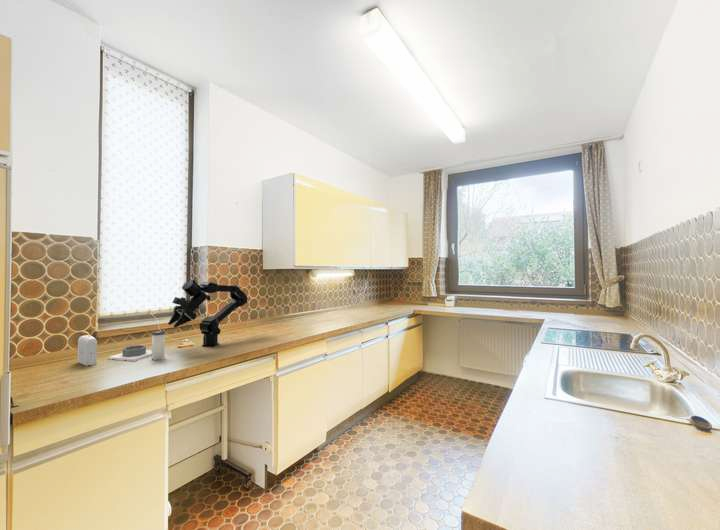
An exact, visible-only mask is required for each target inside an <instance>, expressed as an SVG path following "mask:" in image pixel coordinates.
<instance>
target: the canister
mask: <svg viewBox="0 0 720 530" xmlns="http://www.w3.org/2000/svg"><path fill="white" fill-rule="evenodd" d="M165 333H166V331H165V330H155V331H154V330H153V331H152V332H151V350H152V355H151V360H152V359H153V360H152V361H158V360H157V359H161V360H163V359H162V358H164V359H165V340H166V339H165V337H166V334H165Z"/></svg>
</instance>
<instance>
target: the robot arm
mask: <svg viewBox="0 0 720 530" xmlns="http://www.w3.org/2000/svg"><path fill="white" fill-rule="evenodd" d="M181 289H182V290H183V291H184V292H185V294H187V295H188V296H189V297H191V298H188V299H187V298H185V297H183V296H182V297H176V296H174V299H173V301H172V302H171V303H172V304H175V306H174V307H173V309H172V311H173V314H172V316H171V317H170V320H169V321H168V323H167V324H168V325H169V326H171V325H173V324H174V323H175V324H174V325H173V327H174V328H178V327H179V326H183V325H185V324H186V323H189V322H191V321H195V320H196V319H197V313H195V312H196V310H197V309H200V306H201V305H202V304H203V303H205V301H209V302H210V301H211V296H210V294H215V293H219V292H224V293H225V292H226V293H229V294H230V302H229V303H227V304H226V305H225V306H224V307H223V308H222V309H220V310H219V311H218V312H216V313H215V314H214V315H213V316H206V317H205V318H204V319H201V321H200V323H199V330H200V332H201V334H202V335H203V337H202V338H203V339H202V341H203V342H202V345H201V347H208V346H211V347H210V348H213V347H216V346H217V345H220V342H218V340H219V339H218V338H219V337H218V336H219V335H220V334H221V329H220V328H219V325H220V322H221V321H223V320H225V318H227V317H228V316H229V315H230V314H231V313H232V312H233V311H235V310H236V309H237V308H239V307H243V306H244V305H246V304H247V303H248V296H247V295H246V293H245V292H244V291H243V290H242V289H240V287H239V286H238V285H232V284H231V285H227V284H226V285H223V284H218V283H214V282H208V281H207V282H205V281H203V282H201V283H200V284H198V283H197V282H196V280H195V279H190V280H189V281H187V282H185V283H184V284H183V285H182V286H181ZM208 294H209V295H208ZM221 323H222V322H221ZM215 345H216V346H215ZM212 346H213V347H212Z"/></svg>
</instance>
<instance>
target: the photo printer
mask: <svg viewBox="0 0 720 530" xmlns="http://www.w3.org/2000/svg"><path fill="white" fill-rule="evenodd" d="M97 358H98V341H97V339H96V338H95V337H94V336H92V335H91V334H89V335H88V334H86V335H85V334H84V335H81V336H80V337H78V340H77V363H79V364H80V365H84V366H88V365H91V366H95V365H96V364H97V362H98V361H97ZM94 364H95V365H94ZM88 367H89V366H88Z"/></svg>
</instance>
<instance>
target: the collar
mask: <svg viewBox="0 0 720 530" xmlns="http://www.w3.org/2000/svg"><path fill="white" fill-rule="evenodd" d="M150 355H151V356H152V349H147V345H144V344H137V345H129V346H126V347H123V348H122V352H121V353H117V354H114V355H110V356H108V357H107V359H108V360H112V359H114V361H124V360H127V362H135V361H136V360H137V361H139V360H143V359H144V358H148V357H151V356H150ZM147 356H148V357H147Z"/></svg>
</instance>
